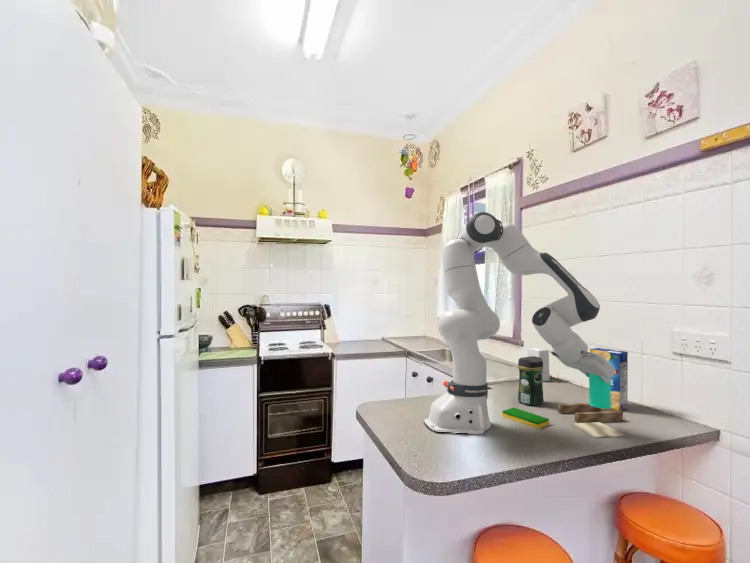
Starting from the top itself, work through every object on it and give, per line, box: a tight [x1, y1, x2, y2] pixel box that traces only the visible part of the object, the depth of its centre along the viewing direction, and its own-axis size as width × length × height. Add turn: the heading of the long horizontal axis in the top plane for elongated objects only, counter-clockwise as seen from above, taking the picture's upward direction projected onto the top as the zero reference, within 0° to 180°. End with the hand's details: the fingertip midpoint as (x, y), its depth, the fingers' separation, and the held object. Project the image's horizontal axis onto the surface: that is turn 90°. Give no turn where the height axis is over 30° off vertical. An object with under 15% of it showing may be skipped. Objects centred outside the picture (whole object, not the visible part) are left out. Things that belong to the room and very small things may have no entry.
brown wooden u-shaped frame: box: [557, 402, 624, 423], centre depth 132 cm, size 18×11×3 cm, turn 98°
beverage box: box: [589, 347, 629, 412], centre depth 144 cm, size 7×11×22 cm, turn 34°
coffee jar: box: [517, 356, 544, 406], centre depth 147 cm, size 10×8×19 cm
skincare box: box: [527, 347, 551, 383], centre depth 184 cm, size 8×7×16 cm
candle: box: [588, 373, 611, 409], centre depth 119 cm, size 6×6×12 cm
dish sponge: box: [501, 407, 550, 429], centre depth 127 cm, size 7×14×2 cm, turn 35°
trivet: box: [570, 422, 627, 439], centre depth 119 cm, size 11×11×1 cm
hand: (599, 378), depth 119 cm, fingers closed on candle, 6 cm apart
